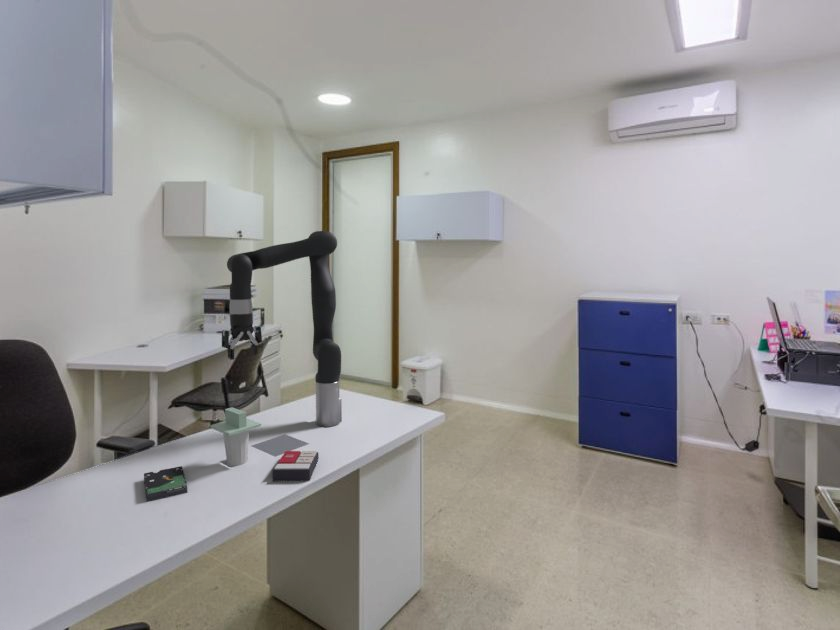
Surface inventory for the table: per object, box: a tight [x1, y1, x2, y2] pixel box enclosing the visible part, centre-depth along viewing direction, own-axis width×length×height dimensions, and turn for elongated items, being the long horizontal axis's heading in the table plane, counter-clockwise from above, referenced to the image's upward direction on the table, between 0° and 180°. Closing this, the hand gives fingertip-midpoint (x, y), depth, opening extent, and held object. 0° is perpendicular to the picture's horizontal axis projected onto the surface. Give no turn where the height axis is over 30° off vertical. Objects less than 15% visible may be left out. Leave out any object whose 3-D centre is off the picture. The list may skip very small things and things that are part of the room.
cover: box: [210, 406, 262, 436], centre depth 153 cm, size 11×11×5 cm
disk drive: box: [143, 465, 188, 503], centre depth 139 cm, size 10×3×15 cm
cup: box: [222, 430, 250, 468], centre depth 154 cm, size 8×8×12 cm
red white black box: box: [271, 450, 319, 482], centre depth 150 cm, size 11×4×15 cm
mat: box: [251, 434, 310, 457], centre depth 168 cm, size 14×14×1 cm
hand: (242, 357), depth 171 cm, fingers open, 8 cm apart
